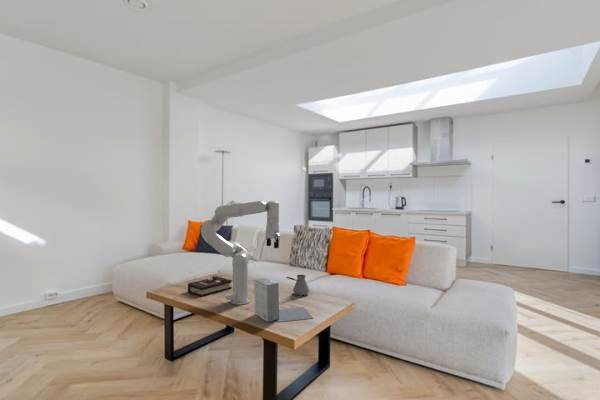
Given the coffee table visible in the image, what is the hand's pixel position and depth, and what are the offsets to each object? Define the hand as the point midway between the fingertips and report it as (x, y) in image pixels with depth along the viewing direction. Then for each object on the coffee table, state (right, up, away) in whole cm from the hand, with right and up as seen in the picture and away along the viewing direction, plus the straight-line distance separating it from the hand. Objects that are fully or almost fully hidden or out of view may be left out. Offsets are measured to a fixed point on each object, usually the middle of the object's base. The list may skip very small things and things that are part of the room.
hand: (272, 246), depth 199 cm
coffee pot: (+15, -36, +13) cm, 41 cm away
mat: (+13, -36, -21) cm, 43 cm away
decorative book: (-47, -36, +24) cm, 64 cm away
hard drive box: (-1, -36, -25) cm, 44 cm away
